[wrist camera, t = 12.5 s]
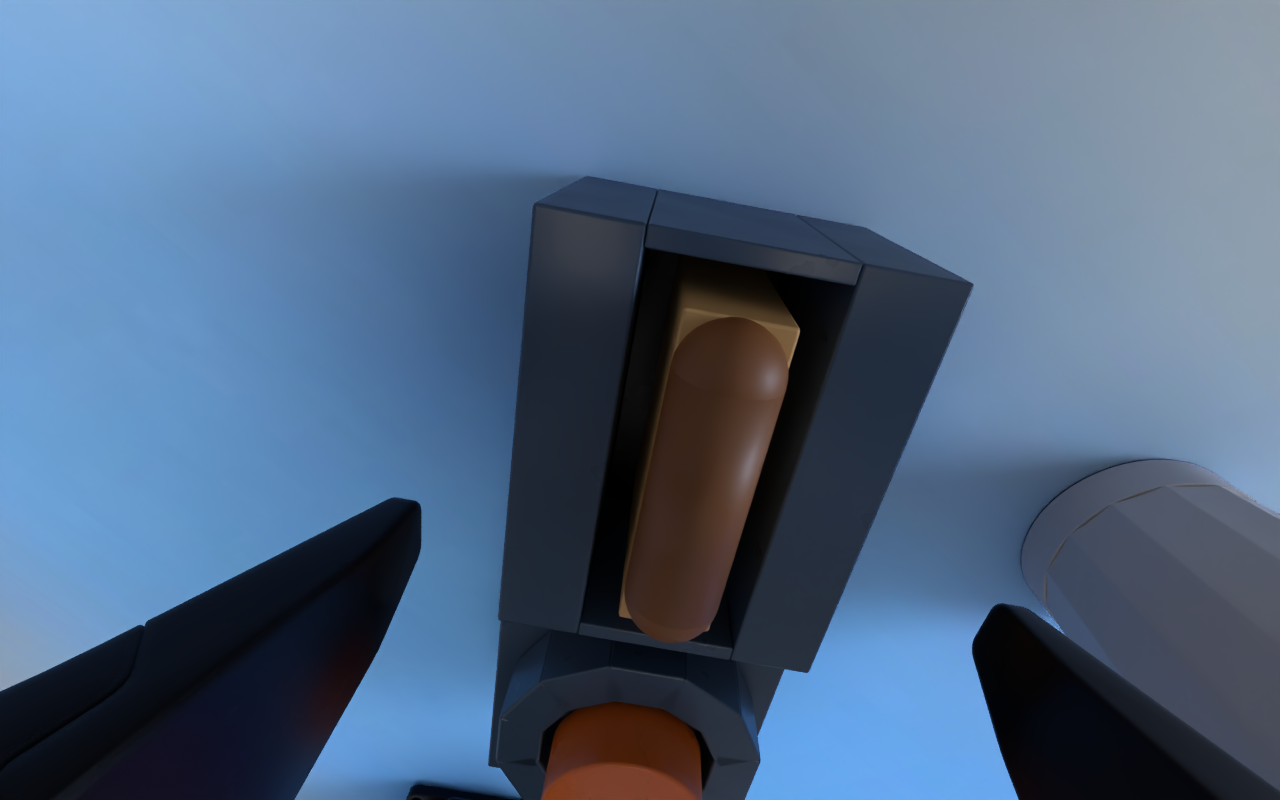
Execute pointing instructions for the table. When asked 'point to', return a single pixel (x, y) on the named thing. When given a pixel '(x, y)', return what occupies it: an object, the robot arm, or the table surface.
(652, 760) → the button
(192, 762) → the robot arm
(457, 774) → the table surface
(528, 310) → the toaster
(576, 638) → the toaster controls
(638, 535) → the tan slab
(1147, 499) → the cup
